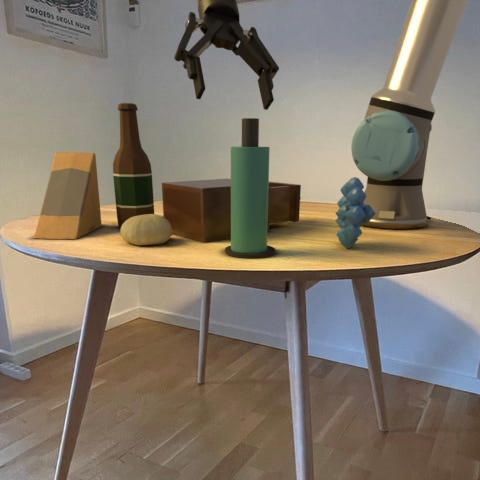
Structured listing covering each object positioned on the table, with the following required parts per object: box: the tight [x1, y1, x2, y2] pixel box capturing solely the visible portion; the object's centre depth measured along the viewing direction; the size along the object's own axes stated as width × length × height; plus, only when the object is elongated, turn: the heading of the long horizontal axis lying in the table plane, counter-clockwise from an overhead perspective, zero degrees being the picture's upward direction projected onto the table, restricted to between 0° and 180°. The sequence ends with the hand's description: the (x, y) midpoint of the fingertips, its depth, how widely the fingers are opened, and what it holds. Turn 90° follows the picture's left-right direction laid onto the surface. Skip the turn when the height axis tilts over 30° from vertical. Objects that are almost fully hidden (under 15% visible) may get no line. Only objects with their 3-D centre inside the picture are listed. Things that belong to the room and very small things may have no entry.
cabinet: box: [161, 178, 270, 243], centre depth 94 cm, size 17×14×10 cm
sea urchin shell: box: [119, 213, 173, 246], centre depth 85 cm, size 9×8×8 cm
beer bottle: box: [112, 102, 155, 229], centre depth 95 cm, size 8×8×24 cm
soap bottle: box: [230, 117, 270, 253], centre depth 74 cm, size 6×6×20 cm
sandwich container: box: [33, 151, 102, 240], centre depth 92 cm, size 9×15×15 cm, turn 177°
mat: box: [224, 244, 276, 259], centre depth 78 cm, size 8×8×1 cm
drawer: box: [269, 181, 302, 225], centre depth 101 cm, size 20×12×8 cm, turn 131°
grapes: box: [335, 176, 375, 249], centre depth 79 cm, size 12×7×12 cm, turn 178°
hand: (236, 99), depth 84 cm, fingers open, 13 cm apart
